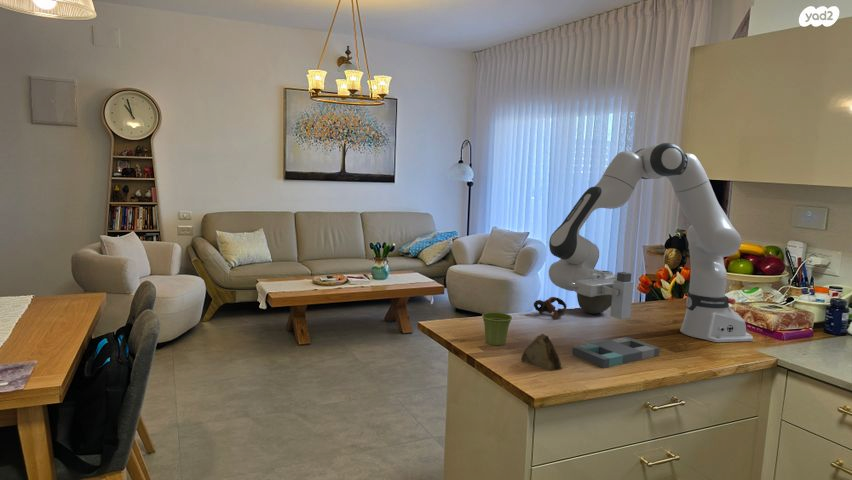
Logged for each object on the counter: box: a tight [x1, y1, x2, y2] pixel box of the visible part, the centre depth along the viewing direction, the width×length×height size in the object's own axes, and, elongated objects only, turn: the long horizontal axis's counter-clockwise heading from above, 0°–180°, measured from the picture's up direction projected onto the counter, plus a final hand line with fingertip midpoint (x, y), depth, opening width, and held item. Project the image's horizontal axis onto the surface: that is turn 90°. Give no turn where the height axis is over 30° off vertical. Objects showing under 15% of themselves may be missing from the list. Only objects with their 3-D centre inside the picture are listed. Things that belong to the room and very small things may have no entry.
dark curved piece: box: [533, 296, 567, 320], centre depth 212 cm, size 12×10×8 cm
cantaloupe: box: [576, 293, 612, 315], centre depth 217 cm, size 14×14×15 cm
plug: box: [609, 271, 634, 320], centre depth 168 cm, size 4×4×13 cm
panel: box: [572, 336, 660, 369], centre depth 170 cm, size 24×12×2 cm, turn 121°
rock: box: [520, 333, 563, 371], centre depth 159 cm, size 11×9×10 cm
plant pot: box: [481, 311, 513, 346], centre depth 177 cm, size 9×9×9 cm
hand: (624, 292), depth 167 cm, fingers closed on plug, 4 cm apart
